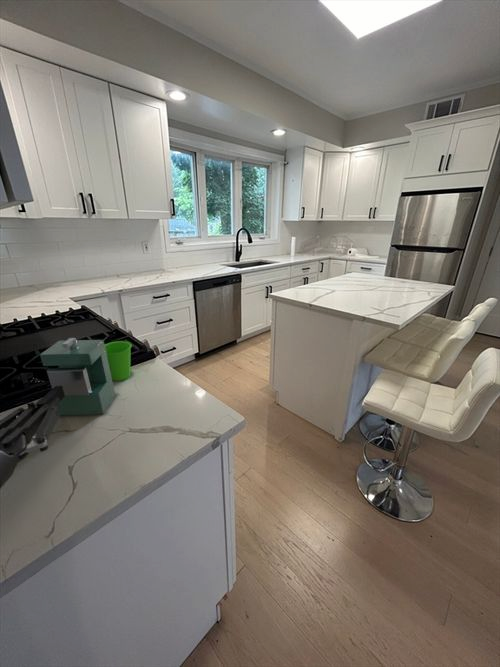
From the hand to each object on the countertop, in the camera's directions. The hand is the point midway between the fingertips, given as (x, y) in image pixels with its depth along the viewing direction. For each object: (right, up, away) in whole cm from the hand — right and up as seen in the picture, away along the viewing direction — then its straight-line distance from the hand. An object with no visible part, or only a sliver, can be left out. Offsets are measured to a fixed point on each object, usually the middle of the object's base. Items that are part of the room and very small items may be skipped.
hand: (60, 391), depth 62 cm
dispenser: (-1, -7, +12) cm, 14 cm away
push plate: (0, -2, +5) cm, 5 cm away
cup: (+2, -2, +26) cm, 26 cm away
